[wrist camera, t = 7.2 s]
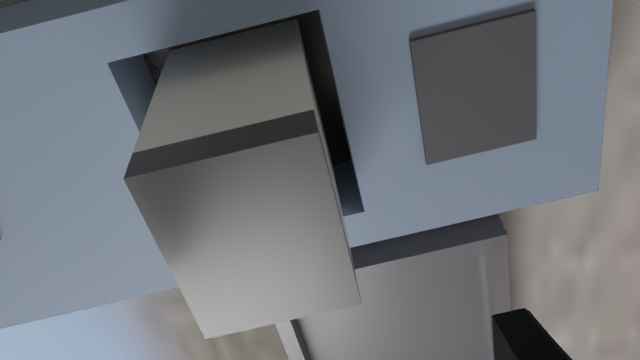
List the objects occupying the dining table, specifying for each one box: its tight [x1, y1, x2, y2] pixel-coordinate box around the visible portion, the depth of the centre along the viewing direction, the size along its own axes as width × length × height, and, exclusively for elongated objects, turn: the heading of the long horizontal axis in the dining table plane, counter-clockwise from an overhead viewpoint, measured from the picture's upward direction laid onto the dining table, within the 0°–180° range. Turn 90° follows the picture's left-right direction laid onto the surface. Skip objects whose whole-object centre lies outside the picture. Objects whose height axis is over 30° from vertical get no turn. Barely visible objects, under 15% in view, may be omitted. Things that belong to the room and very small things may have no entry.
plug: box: [123, 19, 362, 339], centre depth 15 cm, size 4×5×7 cm
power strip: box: [0, 0, 613, 329], centre depth 17 cm, size 20×9×3 cm, turn 102°
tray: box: [275, 214, 511, 360], centre depth 24 cm, size 9×10×2 cm
